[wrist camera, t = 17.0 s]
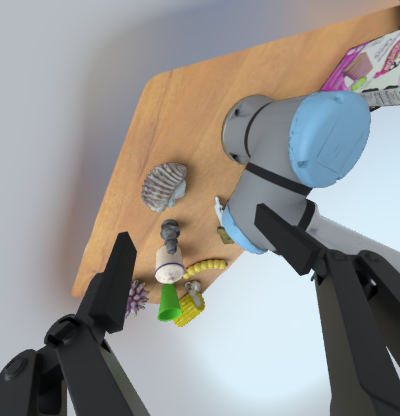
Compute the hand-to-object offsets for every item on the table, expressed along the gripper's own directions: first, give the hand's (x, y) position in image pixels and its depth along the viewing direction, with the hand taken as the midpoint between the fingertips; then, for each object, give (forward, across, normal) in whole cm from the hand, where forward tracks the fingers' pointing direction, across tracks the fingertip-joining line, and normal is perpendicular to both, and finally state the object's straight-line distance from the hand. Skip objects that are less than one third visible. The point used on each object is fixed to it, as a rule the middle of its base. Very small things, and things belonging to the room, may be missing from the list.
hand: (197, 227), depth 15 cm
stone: (+27, +13, -27) cm, 41 cm away
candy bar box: (+27, +42, +14) cm, 52 cm away
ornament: (+26, -2, -55) cm, 61 cm away
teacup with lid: (+27, -7, -32) cm, 42 cm away
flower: (+27, -24, -43) cm, 56 cm away
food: (+22, -10, -60) cm, 65 cm away
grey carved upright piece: (+27, -5, -19) cm, 34 cm away
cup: (+27, -12, -51) cm, 59 cm away
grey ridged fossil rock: (+27, -4, -5) cm, 28 cm away
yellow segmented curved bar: (+27, +4, -42) cm, 50 cm away
